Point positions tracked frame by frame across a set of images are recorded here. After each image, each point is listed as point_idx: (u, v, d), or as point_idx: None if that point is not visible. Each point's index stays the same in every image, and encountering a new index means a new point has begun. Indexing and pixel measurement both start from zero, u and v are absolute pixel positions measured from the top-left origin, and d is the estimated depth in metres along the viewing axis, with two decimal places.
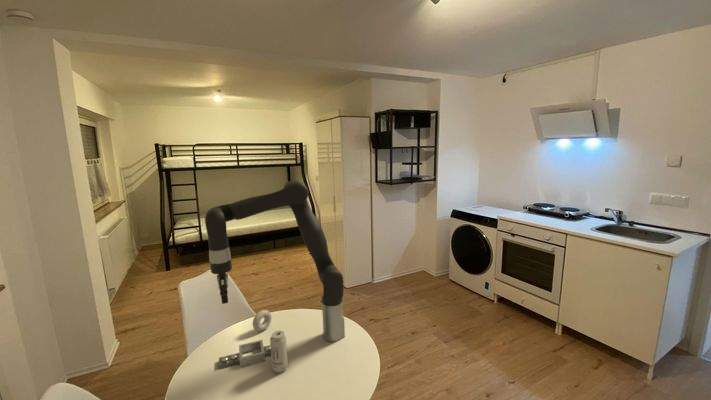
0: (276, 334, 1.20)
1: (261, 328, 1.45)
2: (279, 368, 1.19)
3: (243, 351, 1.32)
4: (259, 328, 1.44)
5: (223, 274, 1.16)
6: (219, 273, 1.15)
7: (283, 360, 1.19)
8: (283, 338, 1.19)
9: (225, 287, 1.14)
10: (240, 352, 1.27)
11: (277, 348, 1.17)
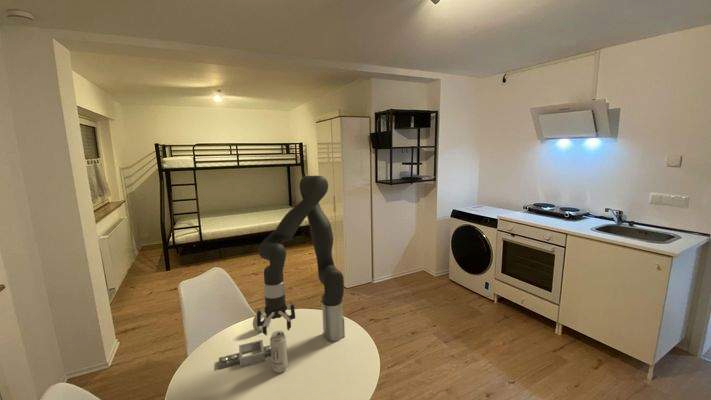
0: (276, 334, 1.20)
1: (261, 328, 1.45)
2: (279, 368, 1.19)
3: (243, 351, 1.32)
4: (259, 328, 1.44)
5: None
6: None
7: (283, 360, 1.19)
8: (283, 338, 1.19)
9: None
10: (240, 352, 1.27)
11: (277, 348, 1.17)
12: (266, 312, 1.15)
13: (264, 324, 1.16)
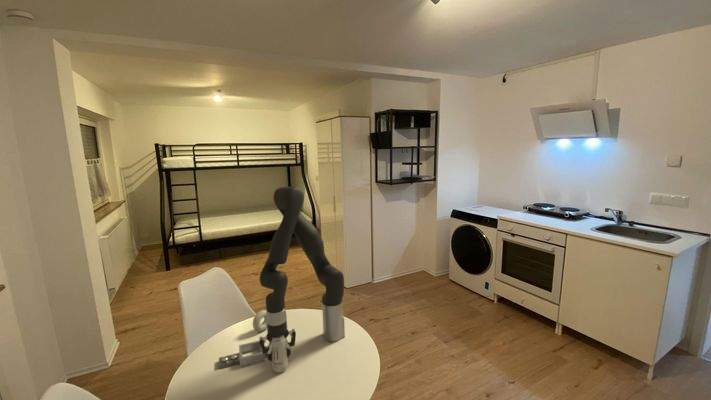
0: None
1: (261, 328, 1.45)
2: (279, 368, 1.19)
3: (243, 351, 1.32)
4: (259, 328, 1.44)
5: None
6: None
7: (283, 360, 1.19)
8: None
9: None
10: (240, 352, 1.27)
11: (277, 348, 1.17)
12: (268, 340, 1.17)
13: (269, 351, 1.18)
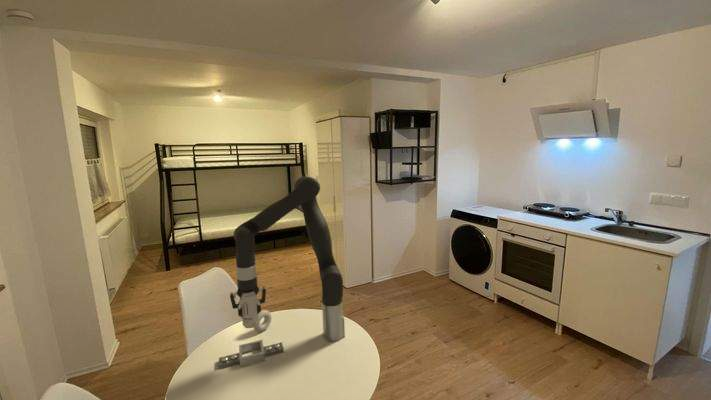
0: None
1: (261, 328, 1.45)
2: (249, 323, 1.22)
3: (243, 351, 1.32)
4: (259, 328, 1.44)
5: None
6: None
7: (253, 315, 1.23)
8: (253, 294, 1.22)
9: None
10: (240, 352, 1.27)
11: (247, 303, 1.21)
12: (238, 295, 1.21)
13: (239, 306, 1.22)
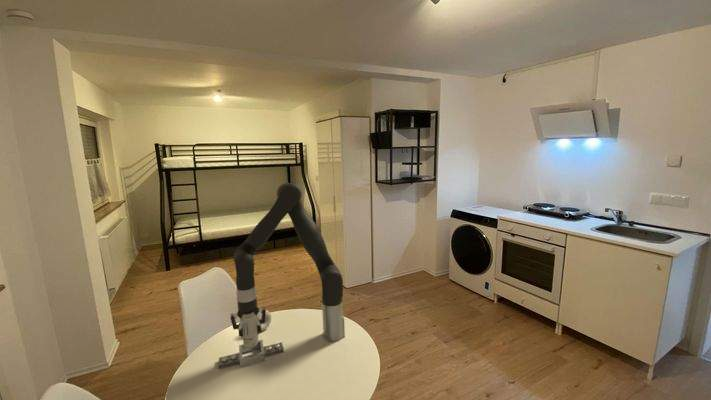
0: None
1: (261, 328, 1.45)
2: (250, 343, 1.25)
3: (243, 351, 1.32)
4: None
5: None
6: None
7: (253, 336, 1.26)
8: (253, 315, 1.25)
9: None
10: (240, 352, 1.27)
11: (247, 324, 1.24)
12: (239, 316, 1.24)
13: (240, 327, 1.25)
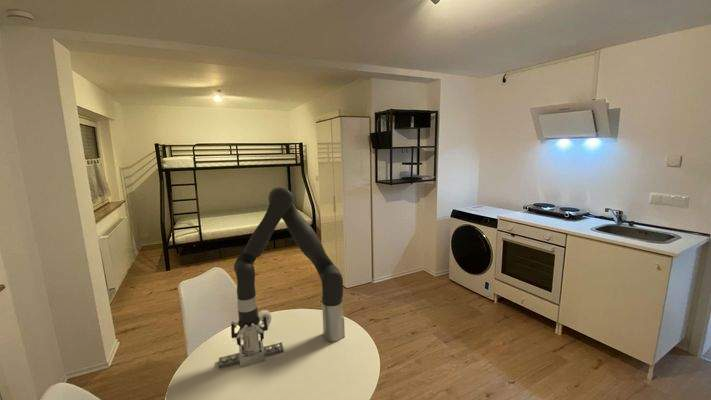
0: None
1: None
2: None
3: (243, 351, 1.32)
4: None
5: None
6: (257, 315, 1.27)
7: (255, 348, 1.27)
8: (254, 327, 1.26)
9: None
10: (240, 352, 1.27)
11: (248, 337, 1.25)
12: (239, 325, 1.24)
13: (238, 336, 1.25)
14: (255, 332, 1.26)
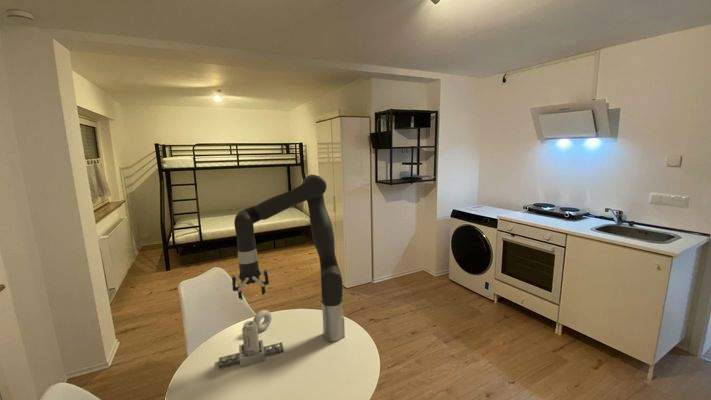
0: (248, 323, 1.27)
1: (261, 328, 1.45)
2: None
3: (243, 351, 1.32)
4: (259, 328, 1.44)
5: None
6: (258, 268, 1.27)
7: (255, 348, 1.27)
8: (254, 327, 1.26)
9: None
10: (240, 352, 1.27)
11: (248, 337, 1.25)
12: (240, 278, 1.24)
13: (239, 289, 1.25)
14: (255, 332, 1.26)
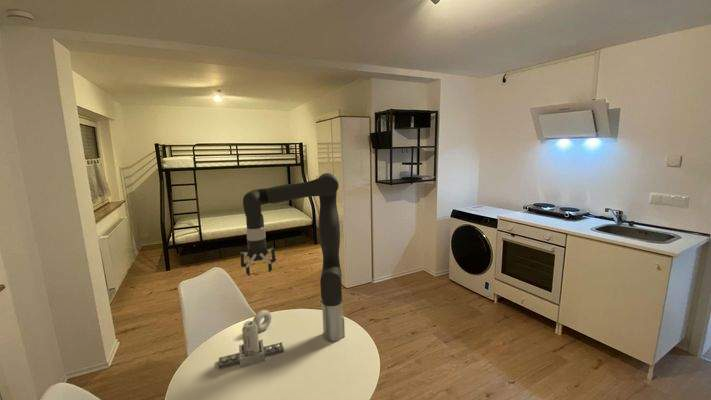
0: (248, 323, 1.27)
1: (261, 328, 1.45)
2: None
3: (243, 351, 1.32)
4: (259, 328, 1.44)
5: None
6: None
7: (255, 348, 1.27)
8: (254, 327, 1.26)
9: None
10: (240, 352, 1.27)
11: (248, 337, 1.25)
12: (249, 254, 1.29)
13: (247, 265, 1.30)
14: (255, 332, 1.26)
